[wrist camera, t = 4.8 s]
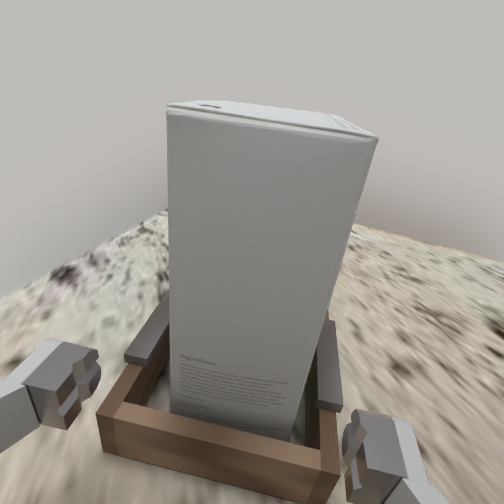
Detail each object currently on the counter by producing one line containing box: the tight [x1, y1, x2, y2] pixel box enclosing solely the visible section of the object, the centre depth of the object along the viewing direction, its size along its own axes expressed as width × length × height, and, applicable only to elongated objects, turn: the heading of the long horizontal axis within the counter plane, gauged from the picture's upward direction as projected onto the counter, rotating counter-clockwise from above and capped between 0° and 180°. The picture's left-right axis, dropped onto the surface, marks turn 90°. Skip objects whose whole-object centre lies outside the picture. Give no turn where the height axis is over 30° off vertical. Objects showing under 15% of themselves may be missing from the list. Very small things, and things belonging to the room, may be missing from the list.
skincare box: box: [166, 100, 379, 442], centre depth 16 cm, size 8×7×16 cm
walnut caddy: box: [96, 290, 343, 504], centre depth 19 cm, size 11×12×4 cm
